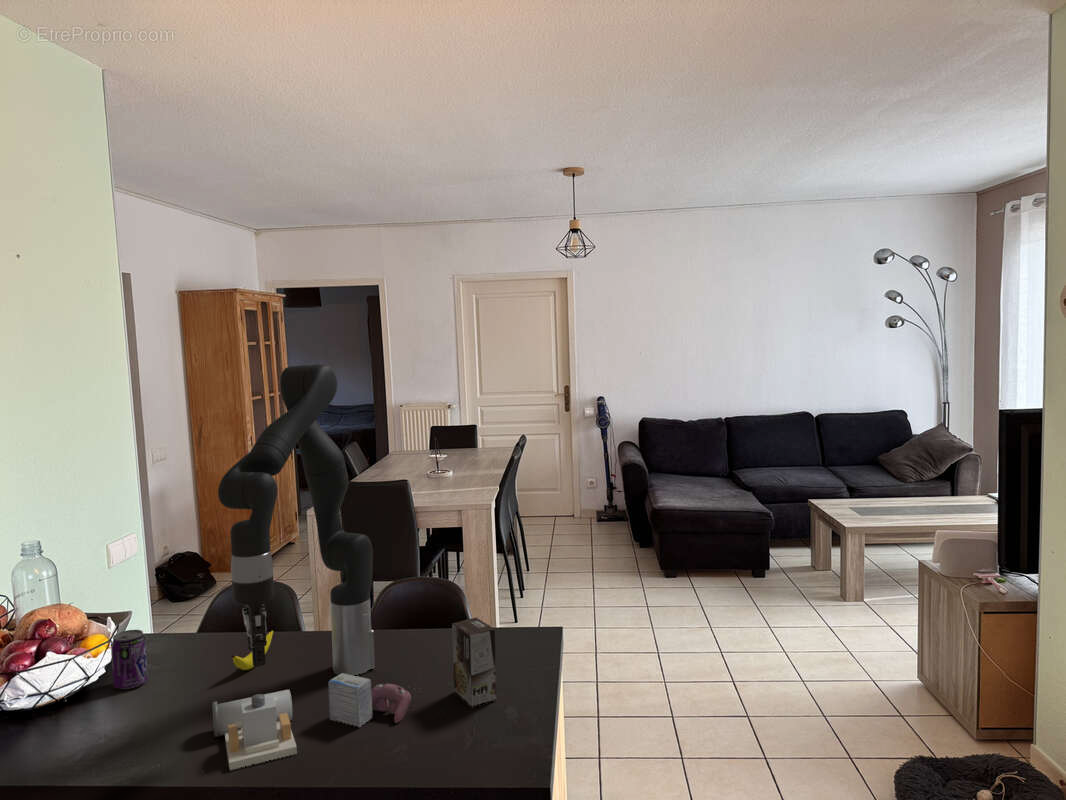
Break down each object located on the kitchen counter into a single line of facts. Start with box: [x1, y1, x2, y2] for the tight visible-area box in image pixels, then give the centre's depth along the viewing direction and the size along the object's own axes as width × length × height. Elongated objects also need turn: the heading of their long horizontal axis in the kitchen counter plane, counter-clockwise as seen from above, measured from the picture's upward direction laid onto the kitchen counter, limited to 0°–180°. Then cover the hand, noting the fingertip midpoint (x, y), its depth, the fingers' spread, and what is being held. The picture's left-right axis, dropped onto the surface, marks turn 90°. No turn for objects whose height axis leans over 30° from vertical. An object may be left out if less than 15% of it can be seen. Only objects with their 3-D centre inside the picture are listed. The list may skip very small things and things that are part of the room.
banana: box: [231, 630, 274, 671], centre depth 184 cm, size 3×19×6 cm, turn 172°
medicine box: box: [328, 673, 373, 728], centre depth 156 cm, size 8×4×9 cm, turn 64°
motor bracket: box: [212, 689, 298, 771], centre depth 148 cm, size 15×18×7 cm
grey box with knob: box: [241, 693, 277, 749], centre depth 146 cm, size 6×4×9 cm
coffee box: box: [451, 617, 497, 707], centre depth 165 cm, size 9×6×16 cm
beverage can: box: [110, 629, 149, 690], centre depth 174 cm, size 7×7×12 cm
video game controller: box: [371, 683, 412, 724], centre depth 158 cm, size 10×5×7 cm, turn 64°
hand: (256, 656), depth 145 cm, fingers open, 8 cm apart
